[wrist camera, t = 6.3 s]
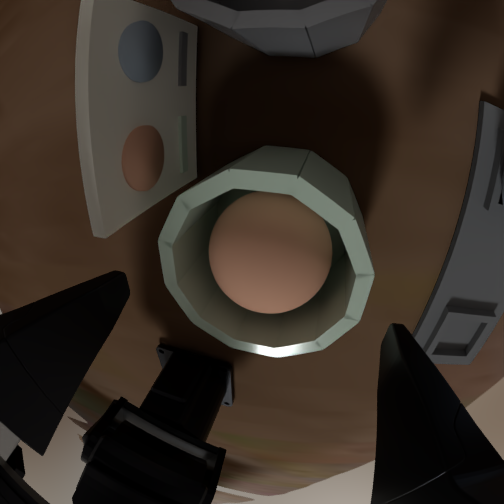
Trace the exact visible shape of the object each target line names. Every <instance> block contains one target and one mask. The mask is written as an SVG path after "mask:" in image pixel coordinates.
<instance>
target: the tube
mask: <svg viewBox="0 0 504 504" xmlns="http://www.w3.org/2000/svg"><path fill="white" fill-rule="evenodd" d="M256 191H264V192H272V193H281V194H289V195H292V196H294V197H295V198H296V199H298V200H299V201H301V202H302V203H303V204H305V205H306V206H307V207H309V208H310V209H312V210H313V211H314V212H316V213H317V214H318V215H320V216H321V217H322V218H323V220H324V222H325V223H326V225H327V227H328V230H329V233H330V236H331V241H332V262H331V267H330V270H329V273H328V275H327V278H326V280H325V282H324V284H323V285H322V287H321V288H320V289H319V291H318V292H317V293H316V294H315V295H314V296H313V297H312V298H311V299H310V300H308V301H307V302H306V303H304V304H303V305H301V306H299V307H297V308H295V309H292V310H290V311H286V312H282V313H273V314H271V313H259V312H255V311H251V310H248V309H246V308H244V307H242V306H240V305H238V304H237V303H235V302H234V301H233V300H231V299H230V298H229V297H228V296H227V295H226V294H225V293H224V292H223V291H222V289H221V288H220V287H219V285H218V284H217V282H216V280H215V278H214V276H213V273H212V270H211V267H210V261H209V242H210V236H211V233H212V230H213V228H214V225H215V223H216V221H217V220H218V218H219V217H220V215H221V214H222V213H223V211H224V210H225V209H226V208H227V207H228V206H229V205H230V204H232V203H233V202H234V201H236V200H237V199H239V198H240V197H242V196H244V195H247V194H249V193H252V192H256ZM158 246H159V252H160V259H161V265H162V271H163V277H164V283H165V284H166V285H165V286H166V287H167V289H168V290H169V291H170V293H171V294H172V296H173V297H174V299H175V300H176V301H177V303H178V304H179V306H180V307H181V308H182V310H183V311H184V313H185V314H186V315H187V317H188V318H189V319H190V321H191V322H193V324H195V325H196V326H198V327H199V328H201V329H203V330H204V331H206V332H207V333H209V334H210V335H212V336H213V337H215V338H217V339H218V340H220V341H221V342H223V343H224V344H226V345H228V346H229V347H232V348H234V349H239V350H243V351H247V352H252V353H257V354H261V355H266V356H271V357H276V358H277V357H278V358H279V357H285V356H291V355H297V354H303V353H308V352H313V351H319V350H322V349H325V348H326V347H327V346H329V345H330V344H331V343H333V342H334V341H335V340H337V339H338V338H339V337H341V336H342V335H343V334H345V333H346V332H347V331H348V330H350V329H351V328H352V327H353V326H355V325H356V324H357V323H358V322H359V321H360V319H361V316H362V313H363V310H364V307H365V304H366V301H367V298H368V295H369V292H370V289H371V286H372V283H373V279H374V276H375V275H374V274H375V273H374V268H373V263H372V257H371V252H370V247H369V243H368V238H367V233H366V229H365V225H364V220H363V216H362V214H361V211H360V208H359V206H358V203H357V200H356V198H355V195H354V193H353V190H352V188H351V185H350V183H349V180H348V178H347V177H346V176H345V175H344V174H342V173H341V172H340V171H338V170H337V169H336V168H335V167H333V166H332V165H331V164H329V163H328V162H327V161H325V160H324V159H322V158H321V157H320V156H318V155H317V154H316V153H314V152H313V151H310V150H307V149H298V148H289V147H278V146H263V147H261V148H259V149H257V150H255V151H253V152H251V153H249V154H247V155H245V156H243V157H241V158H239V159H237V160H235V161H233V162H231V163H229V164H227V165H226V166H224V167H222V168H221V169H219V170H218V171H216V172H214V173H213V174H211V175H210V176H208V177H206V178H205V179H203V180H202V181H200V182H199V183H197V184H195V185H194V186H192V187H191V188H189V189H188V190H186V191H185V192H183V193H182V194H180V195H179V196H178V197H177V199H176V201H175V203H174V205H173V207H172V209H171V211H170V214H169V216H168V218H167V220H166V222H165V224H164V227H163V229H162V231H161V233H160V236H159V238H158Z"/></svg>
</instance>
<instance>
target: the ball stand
mask: <svg viewBox="0 0 504 504" xmlns="http://www.w3.org/2000/svg"><path fill="white" fill-rule="evenodd" d="M503 173H504V110H502V109H500V108H498V107H496V106H494V105H492V104H490V103H487V102H485V101H480V105H479V117H478V126H477V134H476V142H475V148H474V154H473V160H472V165H471V171H470V176H469V180H468V185H467V189H466V193H465V197H464V201H463V205H462V209H461V213H460V216H459V220H458V223H457V226H456V230H455V233H454V236H453V239H452V242H451V245H450V248H449V251H448V254H447V257H446V259H445V262H444V265H443V267H442V270H441V273H440V275H439V278H438V280H437V283H436V285H435V287H434V290H433V292H432V294H431V297H430V299H429V301H428V304H427V306H426V308H425V310H424V312H423V314H422V316H421V318H420V321H419V323H418V325H417V327H416V329H415V331H414V333H413V335H412V336H413V337H414V338H415V340H416V341H417V342H418V343H419V345H420V346H421V347H422V349H423V350H424V351H425V353H426V354H427V355H428V357H429V358H430V359H431V361H432V362H433V363H436V364H464V365H470V363H471V362H472V361H473V359H474V358H475V356H476V355H477V353H478V352H479V351H480V349H481V348H482V346H483V345H484V343H485V342H486V340H487V339H488V337H489V335H490V334H491V332H492V331H493V329H494V327H495V326H496V324H497V322H498V321H499V319H500V317H501V315H502V314H503V312H504V206H503V200H502V178H503Z"/></svg>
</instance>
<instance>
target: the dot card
mask: <svg viewBox="0 0 504 504" xmlns="http://www.w3.org/2000/svg"><path fill="white" fill-rule="evenodd" d="M197 30H198V26H196V25H194V24H192V23H189V22H187V21H185V20H183V19H180V18H178V17H176V16H173V15H171V14H168V13H166V12H163V11H161V10H158V9H155V8H153V7H150V6H147V5H144V4H141V3H138V2H135V1H132V0H81V5H80V12H79V20H78V30H77V42H76V60H75V103H76V123H77V136H78V147H79V156H80V164H81V171H82V178H83V185H84V191H85V197H86V202H87V208H88V213H89V218H90V222H91V227H92V232H93V236H95V237H101V238H107V237H109V236H110V235H111V234H113V233H114V232H116V231H117V230H118V229H120V228H121V227H123V226H124V225H125V224H127V223H128V222H130V221H131V220H133V219H134V218H135V217H137V216H138V215H140V214H141V213H143V212H144V211H146V210H147V209H149V208H150V207H152V206H153V205H155V204H156V203H158V202H159V201H161V200H162V199H164V198H165V197H167V196H168V195H170V194H172V193H173V192H175V191H176V190H178V189H180V188H181V187H183V186H184V185H186V184H188V183H189V182H191V181H192V180H194V179H196V178H197V158H196V56H197Z"/></svg>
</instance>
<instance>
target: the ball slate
mask: <svg viewBox="0 0 504 504" xmlns="http://www.w3.org/2000/svg"><path fill="white" fill-rule="evenodd" d="M502 200H503V206H504V173H503V178H502Z"/></svg>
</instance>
